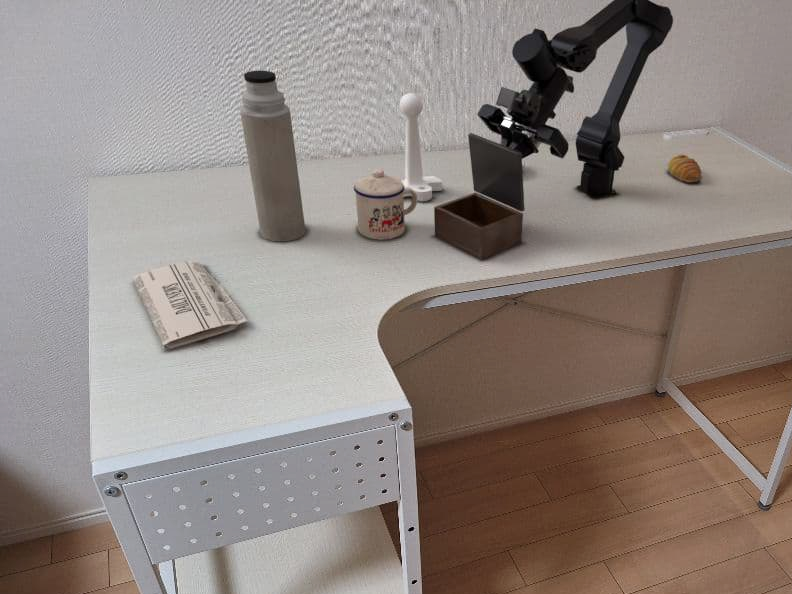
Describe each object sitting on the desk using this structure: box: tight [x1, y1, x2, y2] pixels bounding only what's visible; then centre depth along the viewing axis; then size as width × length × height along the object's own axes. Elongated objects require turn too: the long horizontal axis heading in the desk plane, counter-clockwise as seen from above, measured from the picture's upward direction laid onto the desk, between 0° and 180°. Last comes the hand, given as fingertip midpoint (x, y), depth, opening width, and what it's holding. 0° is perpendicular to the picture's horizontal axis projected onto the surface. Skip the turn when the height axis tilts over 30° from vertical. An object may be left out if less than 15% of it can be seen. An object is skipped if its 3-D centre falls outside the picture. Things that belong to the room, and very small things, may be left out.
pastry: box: [667, 154, 702, 183], centre depth 176 cm, size 9×7×4 cm
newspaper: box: [132, 259, 248, 350], centre depth 120 cm, size 23×12×2 cm, turn 33°
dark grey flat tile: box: [467, 132, 526, 213], centre depth 140 cm, size 11×13×1 cm
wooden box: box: [433, 192, 524, 261], centre depth 143 cm, size 11×13×6 cm
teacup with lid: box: [353, 168, 418, 241], centre depth 142 cm, size 12×9×12 cm
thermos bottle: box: [239, 70, 306, 242], centre depth 134 cm, size 8×8×28 cm
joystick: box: [399, 92, 443, 203], centre depth 153 cm, size 11×8×20 cm
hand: (498, 169), depth 140 cm, fingers closed, pressing on dark grey flat tile
